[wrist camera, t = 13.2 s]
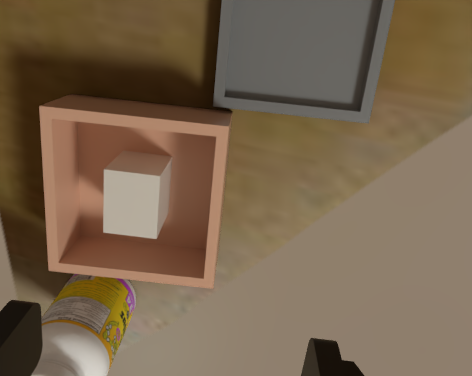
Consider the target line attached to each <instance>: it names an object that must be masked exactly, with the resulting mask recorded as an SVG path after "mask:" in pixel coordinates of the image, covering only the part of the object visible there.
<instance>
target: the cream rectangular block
mask: <svg viewBox="0 0 472 376" xmlns="http://www.w3.org/2000/svg"><path fill="white" fill-rule="evenodd" d="M171 170H172V156H165V155H157V154H149V153H141V152H133V151H125V150H123V151H122V152H121V153H120V154H119V155H118V156H117V157H116V158H115V159H114V160H113V161H112V162H111V163H110V164H109V165H108V166H107V167H106V168H105V169H104V207H103V233H111V234H119V235H128V236H136V237H144V238H152V239H157V237H158V235H159V232H160V230H161V228H162V226H163V224H164V221H165V219H166V217H167V215H168V212H169V199H170V185H171Z"/></svg>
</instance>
